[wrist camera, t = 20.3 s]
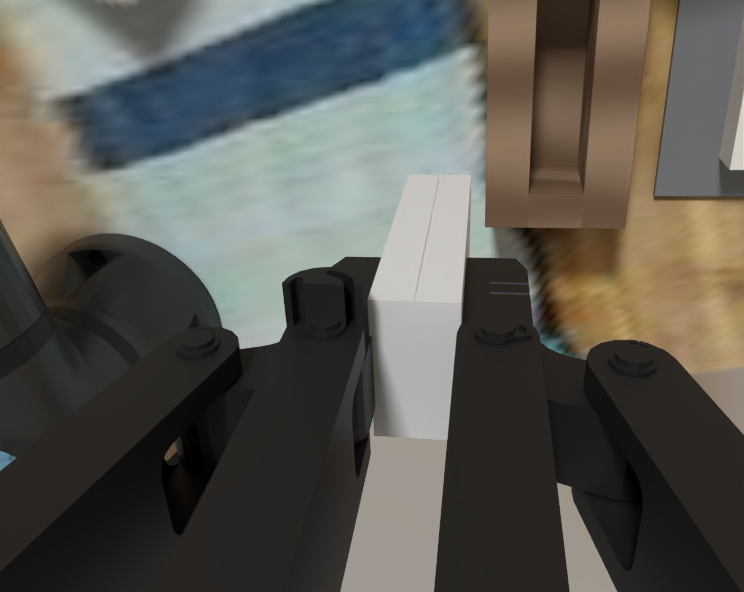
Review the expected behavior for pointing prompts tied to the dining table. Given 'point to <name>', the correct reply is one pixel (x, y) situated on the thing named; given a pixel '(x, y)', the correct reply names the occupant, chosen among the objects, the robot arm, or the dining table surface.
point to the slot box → (562, 111)
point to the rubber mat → (699, 101)
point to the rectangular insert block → (735, 114)
